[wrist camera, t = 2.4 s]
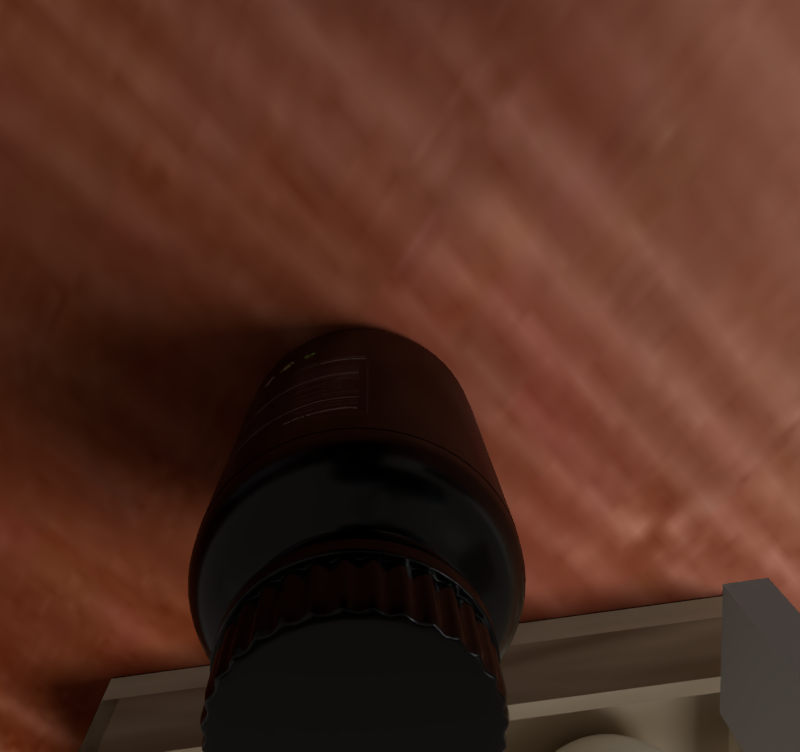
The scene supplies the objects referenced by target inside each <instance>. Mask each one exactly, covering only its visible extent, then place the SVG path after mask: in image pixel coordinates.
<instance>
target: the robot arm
mask: <svg viewBox="0 0 800 752" xmlns="http://www.w3.org/2000/svg"><path fill="white" fill-rule="evenodd" d="M720 714H721V716H722V717H723V719H724V721H725V722H726V724H727V726H728V727H729V729H730V731H731V732H732V734H733V735H734V737H735V739H736V740H737V742H738V744H739V745H740V747H741V749H742V750H743V752H800V613H799V612H798V611H797V610H796V608H795V607H794V606H793V605H792V604H791V603H790V602H789V601H788V600H787V598H786V597H785V596H784V595H783V594H782V593H781V592H780V591H779V590H778V588H777V587H776V586H775V585H774V584H773V583H772V582H771V581H770V580H769V578H764V579H757V580H750V581H742V582H735V583H728V584H723V599H722V640H721V680H720Z"/></svg>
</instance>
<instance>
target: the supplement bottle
mask: <svg viewBox="0 0 800 752" xmlns="http://www.w3.org/2000/svg"><path fill="white" fill-rule="evenodd" d="M525 582H526V577H525V564H524V559H523V553H522V549H521V544H520V541H519V537H518V534H517V531H516V527H515V524H514V521H513V519H512V516H511V513H510V511H509V508H508V505H507V502H506V500H505V497H504V494H503V492H502V489H501V486H500V484H499V481H498V478H497V476H496V473H495V470H494V468H493V465H492V462H491V460H490V457H489V454H488V452H487V449H486V446H485V443H484V441H483V438H482V435H481V433H480V430H479V427H478V425H477V422H476V419H475V417H474V414H473V411H472V409H471V407H470V404H469V402H468V400H467V398H466V395H465V393H464V391H463V389H462V387H461V386H460V384H459V382H458V381H457V379H456V378H455V376H454V375H453V373H452V372H451V371H450V370H449V368H448V367H447V366H446V365H445V364H444V363H443V362H442V361H441V360H440V359H439V358H438V357H437V356H435V355H434V354H433V353H432V352H430V351H429V350H428V349H426V348H424V347H423V346H421V345H419V344H418V343H416V342H414V341H412V340H410V339H408V338H405V337H402V336H399V335H397V334H393V333H389V332H385V331H379V330H370V329H351V330H342V331H337V332H332V333H328V334H325V335H322V336H319V337H316V338H314V339H312V340H310V341H307V342H306V343H304V344H302V345H300V346H298V347H297V348H295V349H294V350H292V351H291V352H290V353H288V354H287V355H286V356H285V357H284V358H282V359H281V360H280V361H279V362H278V363H277V364H276V365H275V366H274V367H273V369H272V370H271V371H270V372H269V374H268V375H267V376H266V378H265V379H264V381H263V382H262V384H261V386H260V387H259V389H258V391H257V393H256V395H255V397H254V399H253V401H252V403H251V405H250V408H249V410H248V412H247V415H246V417H245V419H244V422H243V424H242V427H241V429H240V431H239V434H238V436H237V439H236V441H235V443H234V446H233V448H232V451H231V453H230V455H229V458H228V460H227V462H226V465H225V467H224V470H223V472H222V474H221V477H220V479H219V482H218V484H217V486H216V489H215V491H214V494H213V496H212V498H211V501H210V503H209V506H208V508H207V510H206V513H205V515H204V518H203V520H202V523H201V526H200V528H199V531H198V534H197V537H196V541H195V543H194V547H193V551H192V555H191V560H190V565H189V574H188V597H189V605H190V611H191V615H192V619H193V623H194V627H195V630H196V632H197V635H198V638H199V640H200V643H201V645H202V647H203V649H204V651H205V653H206V655H207V657H208V658H209V660H210V676H209V679H208V683H207V687H206V690H205V702H204V705H203V709H202V713H201V718H200V726H201V729H202V732H203V739H202V751H203V752H504V750H505V749H506V747H507V737H506V730H507V728H508V725H509V711H508V706H507V702H506V687H505V683H504V679H503V675H502V671H501V660H502V659H503V657H504V656H505V654H506V652H507V650H508V648H509V646H510V644H511V642H512V640H513V638H514V635H515V633H516V630H517V628H518V625H519V621H520V618H521V614H522V610H523V605H524V598H525Z"/></svg>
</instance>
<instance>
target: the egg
mask: <svg viewBox="0 0 800 752" xmlns="http://www.w3.org/2000/svg"><path fill="white" fill-rule="evenodd" d="M555 752H664V751H662V750H661V749H659V748H657V747H655V746H653V745H651V744H649V743H647V742H645V741H642V740H639V739H636V738H632V737H628V736H624V735H617V734H597V735H591V736H586V737H583V738H579V739H577V740H574V741H572V742H570V743H568V744H566V745H564V746H562V747H561V748H559V749H558V750H556V751H555Z"/></svg>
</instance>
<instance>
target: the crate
mask: <svg viewBox="0 0 800 752" xmlns="http://www.w3.org/2000/svg"><path fill="white" fill-rule="evenodd" d="M722 599H723V596H720V597H712V598H705V599H698V600H690V601H683V602H675V603H668V604H661V605H653V606H646V607H638V608H631V609H624V610H616V611H609V612H601V613H594V614H587V615H579V616H572V617H564V618H557V619H550V620H542V621H535V622H527V623H520V624H519V625H518V628H517V630H516V633H515V635H514V638H513V640H512V642H511V644H510V646H509V648H508V650H507V652H506V654H505V656H504V657H503V659H502V660H501V671H502V675H503V679H504V683H505V687H506V702H507V706H508V711H509V725H508V728H507V730H506V737H507V747H506V749H505V750H504V752H555V751H556V750H558V749H559V748H561V747H562V746H564V745H566V744H568V743H570V742H572V741H574V740H577V739H579V738H583V737H586V736H591V735H597V734H617V735H624V736H628V737H632V738H636V739H639V740H642V741H645V742H647V743H649V744H651V745H653V746H655V747H657V748H659V749H661V750H662V751H664V752H743V750H742V749H741V747H740V745H739V744H738V742H737V740H736V739H735V737H734V735H733V734H732V732H731V731H730V729H729V727H728V726H727V724H726V722H725V721H724V719H723V717H722V716H721V714H720V680H721V640H722ZM209 676H210V665H209V666H202V667H195V668H187V669H180V670H172V671H165V672H158V673H150V674H143V675H135V676H128V677H121V678H113V679H111V680H110V683H109V685H108V687H107V689H106V692H105V694H104V696H103V698H102V700H101V703H100V705H99V707H98V709H97V712H96V714H95V716H94V718H93V721H92V723H91V725H90V727H89V729H88V732H87V734H86V736H85V738H84V741H83V743H82V745H81V747H80V749H79V752H203V751H202V739H203V732H202V729H201V726H200V718H201V713H202V709H203V705H204V702H205V690H206V687H207V683H208V679H209Z"/></svg>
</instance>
